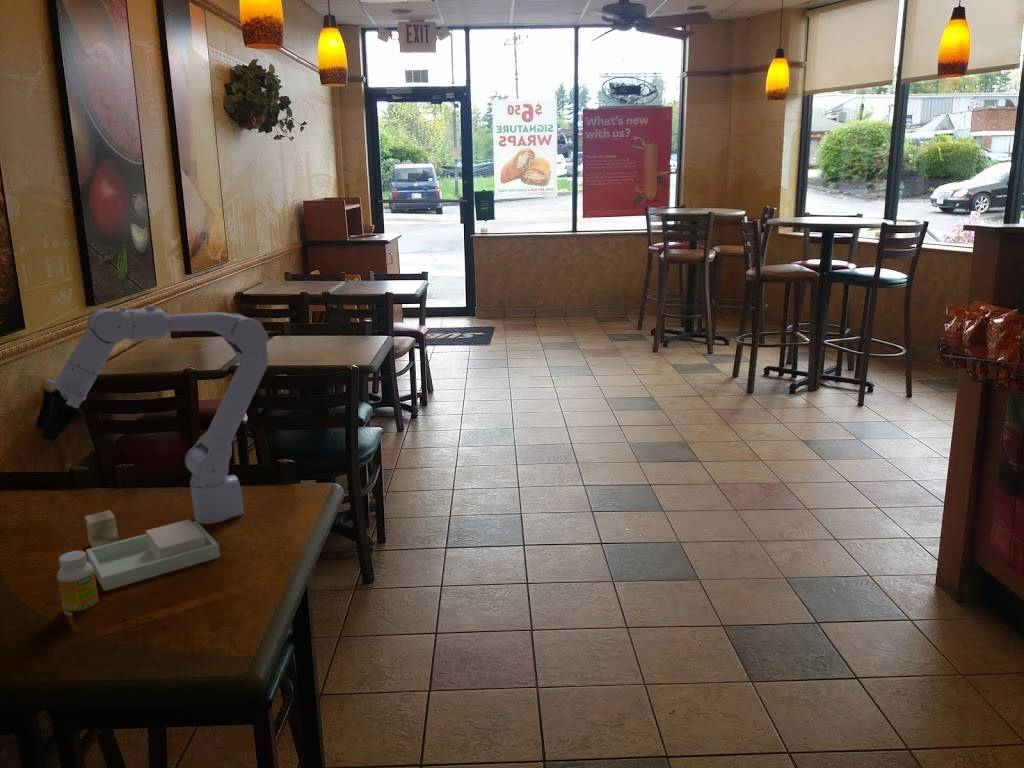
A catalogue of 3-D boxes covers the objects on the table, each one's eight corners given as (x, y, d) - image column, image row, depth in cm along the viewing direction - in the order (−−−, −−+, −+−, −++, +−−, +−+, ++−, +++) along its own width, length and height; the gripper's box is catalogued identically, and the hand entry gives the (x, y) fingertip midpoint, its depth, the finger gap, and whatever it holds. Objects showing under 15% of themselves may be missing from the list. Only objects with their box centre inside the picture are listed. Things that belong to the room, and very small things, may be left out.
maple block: (115, 542, 162) (110, 510, 161) (120, 550, 159) (115, 517, 157) (90, 549, 160) (84, 516, 158) (95, 557, 156) (89, 523, 154)
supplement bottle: (84, 618, 134) (74, 564, 132) (56, 615, 136) (46, 562, 133) (106, 601, 140) (97, 549, 137) (79, 599, 141) (69, 547, 138)
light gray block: (191, 538, 161) (188, 519, 160) (207, 555, 153) (204, 536, 152) (148, 549, 156) (145, 530, 155) (162, 568, 149) (159, 548, 148)
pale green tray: (198, 536, 164) (196, 520, 163) (220, 561, 153) (218, 544, 152) (88, 566, 152) (86, 549, 151) (104, 595, 141) (101, 577, 141)
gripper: (54, 352, 154) (16, 416, 152) (68, 365, 143) (27, 434, 141) (91, 368, 158) (54, 431, 157) (107, 382, 147) (67, 449, 145)
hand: (44, 433), depth 149 cm, fingers open, 7 cm apart
